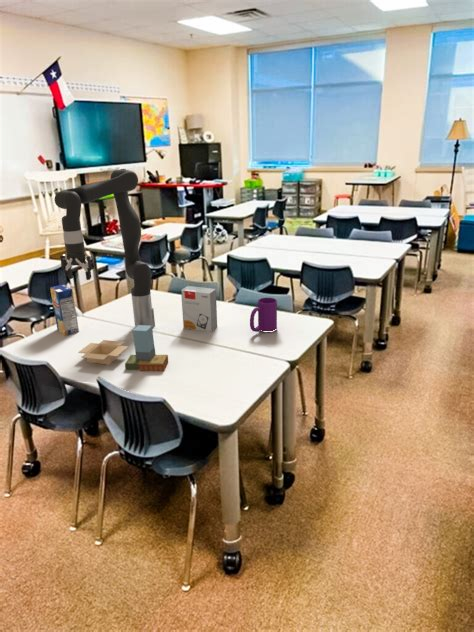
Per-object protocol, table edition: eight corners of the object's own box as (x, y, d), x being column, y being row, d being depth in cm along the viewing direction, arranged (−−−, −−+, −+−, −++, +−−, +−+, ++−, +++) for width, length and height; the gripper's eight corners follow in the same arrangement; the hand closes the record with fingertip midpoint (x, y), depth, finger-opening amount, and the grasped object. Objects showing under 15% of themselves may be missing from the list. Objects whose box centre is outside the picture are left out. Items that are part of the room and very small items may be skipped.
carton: (164, 372, 190) (163, 363, 188) (125, 372, 191) (124, 362, 190) (168, 363, 198) (167, 354, 196) (131, 362, 199) (130, 353, 197)
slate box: (136, 359, 192) (132, 330, 187) (141, 353, 197) (138, 325, 192) (150, 360, 191) (146, 330, 186) (155, 354, 196) (152, 325, 191)
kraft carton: (74, 366, 196) (72, 356, 194) (97, 349, 212) (95, 339, 210) (113, 370, 191) (112, 360, 190) (133, 352, 207) (132, 342, 206)
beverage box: (65, 335, 228) (58, 292, 220) (57, 329, 236) (49, 287, 228) (79, 331, 232) (72, 289, 224) (70, 325, 240) (63, 284, 232)
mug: (281, 329, 227) (281, 300, 222) (257, 338, 218) (257, 308, 212) (267, 324, 234) (267, 296, 228) (244, 333, 224) (243, 303, 219)
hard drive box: (182, 328, 232) (180, 290, 225) (190, 323, 238) (187, 285, 231) (211, 332, 226) (209, 293, 219) (218, 326, 233) (216, 288, 226)
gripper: (94, 239, 195) (99, 277, 201) (64, 238, 199) (70, 275, 204) (84, 243, 188) (89, 282, 194) (53, 242, 192) (59, 280, 198)
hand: (79, 279), depth 199 cm, fingers open, 8 cm apart
